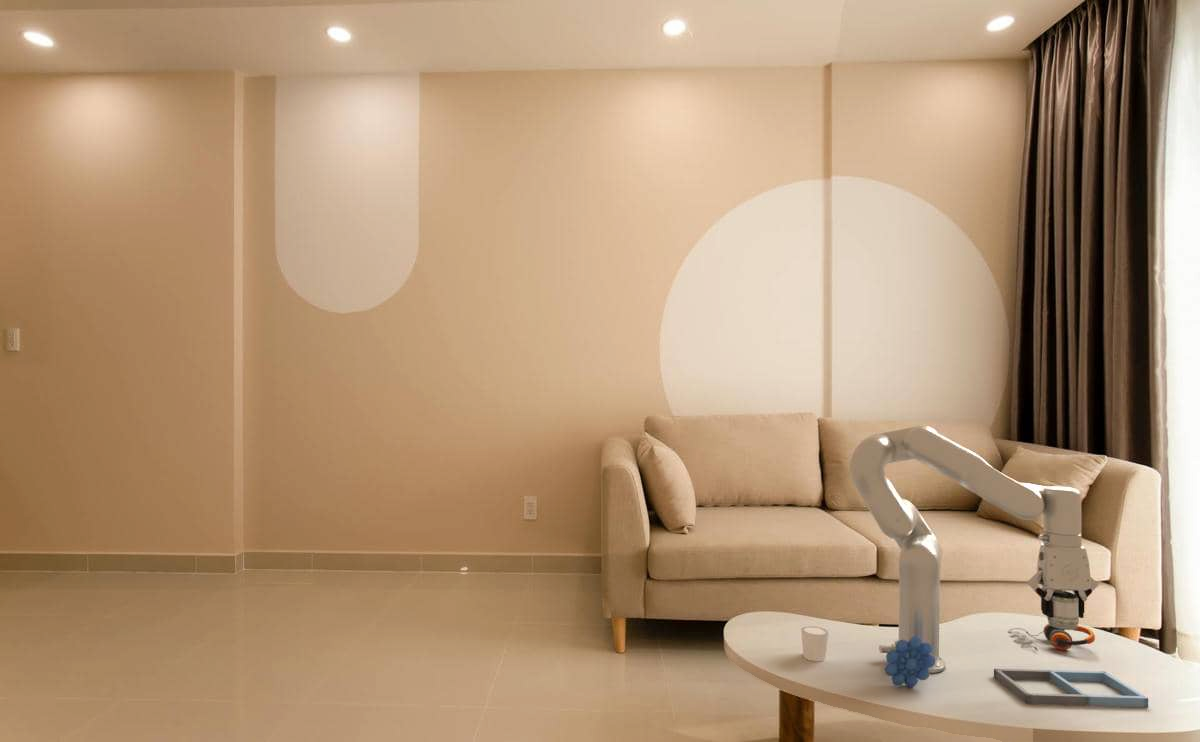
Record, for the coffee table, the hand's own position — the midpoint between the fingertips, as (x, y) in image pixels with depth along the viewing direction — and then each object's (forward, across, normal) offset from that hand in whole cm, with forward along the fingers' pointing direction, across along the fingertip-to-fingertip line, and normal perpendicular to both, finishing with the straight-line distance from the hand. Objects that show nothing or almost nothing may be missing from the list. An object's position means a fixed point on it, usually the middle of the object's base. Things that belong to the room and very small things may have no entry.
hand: (1062, 615), depth 164 cm
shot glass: (+17, -54, +16) cm, 59 cm away
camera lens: (+3, 0, 0) cm, 3 cm away
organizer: (+18, +1, 0) cm, 18 cm away
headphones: (+18, +15, +30) cm, 38 cm away
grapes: (+18, -36, +1) cm, 40 cm away
